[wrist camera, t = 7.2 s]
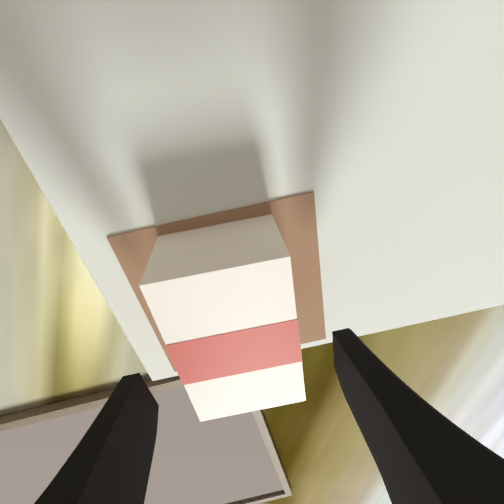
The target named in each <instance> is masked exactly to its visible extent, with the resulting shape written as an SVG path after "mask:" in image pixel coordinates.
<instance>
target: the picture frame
mask: <svg viewBox="0 0 504 504" xmlns="http://www.w3.org/2000/svg"><path fill="white" fill-rule="evenodd" d="M144 382H145V383H146V385H147V387H148V388H149V390H150V392H151V393H152V395H153V397H154V398H155V400H156V402H157V403H158V405H159V410H158V425H157V436H156V442H155V448H154V453H153V459H152V464H151V469H150V475H149V480H148V485H147V490H146V496H145V501H144V504H258V503H263V502H267V501H271V500H275V499H279V498H283V497H288V496H292V490H291V487H290V484H289V482H288V479H287V476H286V474H285V471H284V468H283V466H282V463H281V460H280V457H279V455H278V452H277V449H276V447H275V444H274V441H273V439H272V436H271V433H270V431H269V428H268V425H267V423H266V420H265V417H264V415H263V412H262V410H257V411H252V412H247V413H242V414H237V415H232V416H227V417H222V418H217V419H212V420H207V421H202V422H200V420H199V418H198V416H197V413H196V411H195V409H194V407H193V405H192V402H191V400H190V398H189V396H188V393H187V391H186V389H185V387H184V385H183V384H182V382H181V380H180V377H179V376H174V377H170V378H165V379H160V380H156V381H152V379H149V380H145V381H144ZM114 389H115V388H112V389H108V390H104V391H100V392H96V393H92V394H88V395H84V396H80V397H76V398H72V399H68V400H64V401H60V402H56V403H52V404H48V405H44V406H40V407H36V408H32V409H28V410H24V411H20V412H16V413H12V414H8V415H4V416H0V504H34V503H35V502H36V500H37V499H38V498H39V497H40V495H41V494H42V493H43V492H44V490H45V489H46V488H47V486H48V485H49V484H50V482H51V481H52V480H53V478H54V477H55V476H56V474H57V473H58V472H59V470H60V469H61V467H62V466H63V465H64V463H65V462H66V461H67V459H68V458H69V456H70V455H71V454H72V452H73V451H74V449H75V448H76V447H77V445H78V444H79V442H80V441H81V439H82V438H83V436H84V435H85V433H86V432H87V430H88V429H89V427H90V426H91V424H92V423H93V421H94V420H95V418H96V417H97V415H98V414H99V412H100V411H101V409H102V408H103V406H104V405H105V403H106V402H107V400H108V398H109V397H110V395H111V394H112V392H113V391H114Z"/></svg>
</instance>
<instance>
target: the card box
mask: <svg viewBox="0 0 504 504" xmlns="http://www.w3.org/2000/svg"><path fill="white" fill-rule="evenodd" d="M139 287H140V289H141V291H142V293H143V296H144V298H145V300H146V302H147V305H148V307H149V309H150V311H151V313H152V316H153V318H154V320H155V322H156V325H157V327H158V329H159V331H160V333H161V336H162V338H163V340H164V342H165V346H166V349H167V351H168V353H169V355H170V357H171V360H172V362H173V364H174V366H175V369H176V371H177V373H178V375H179V377H180V380H181V382H182V384H183V385H184V387H185V389H186V391H187V393H188V396H189V398H190V400H191V402H192V405H193V407H194V409H195V411H196V413H197V416H198V418H199V420H200V422H202V421H207V420H212V419H217V418H222V417H227V416H232V415H237V414H242V413H247V412H252V411H257V410H262V409H267V408H272V407H277V406H282V405H287V404H292V403H297V402H302V401H306V396H305V387H304V378H303V369H302V354H301V345H300V336H299V326H298V319H297V314H296V304H295V295H294V286H293V277H292V268H291V259H290V255H289V252H288V250H287V248H286V245H285V243H284V241H283V238H282V236H281V234H280V232H279V229H278V227H277V225H276V222H275V220H274V218H273V215H272V214H269V215H264V216H259V217H254V218H249V219H244V220H238V221H233V222H228V223H223V224H218V225H212V226H207V227H202V228H197V229H192V230H186V231H181V232H176V233H171V234H166V235H160V236H158V237H157V240H156V243H155V245H154V248H153V251H152V253H151V256H150V258H149V261H148V264H147V266H146V269H145V272H144V274H143V277H142V279H141V282H140V285H139Z"/></svg>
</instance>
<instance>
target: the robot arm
mask: <svg viewBox="0 0 504 504" xmlns="http://www.w3.org/2000/svg"><path fill="white" fill-rule="evenodd" d="M332 336H333V352H334V367H335V371H336V373H337V376H338V379H339V382H340V385H341V388H342V390H343V393H344V396H345V398H346V400H347V402H348V405H349V407H350V409H351V411H352V413H353V415H354V417H355V419H356V422H357V424H358V426H359V428H360V430H361V432H362V434H363V436H364V439H365V441H366V443H367V445H368V447H369V449H370V451H371V453H372V456H373V458H374V460H375V462H376V464H377V467H378V469H379V471H380V474H381V476H382V478H383V481H384V484H385V486H386V489H387V492H388V494H389V497H390V499H391V502H392V504H504V459H503V458H502V457H500V456H499V455H497V454H496V453H494V452H493V451H491V450H490V449H488V448H487V447H485V446H484V445H482V444H481V443H480V442H478V441H477V440H475V439H474V438H473V437H471V436H470V435H469V434H467V433H466V432H464V431H463V430H462V429H460V428H459V427H458V426H456V425H455V424H454V423H452V422H451V421H450V420H449V419H447V418H446V417H445V416H443V415H442V414H441V413H440V412H438V411H437V410H436V409H435V408H433V407H432V406H431V405H430V404H428V403H427V402H426V401H425V400H424V399H422V398H421V397H420V396H419V395H418V394H417V393H415V392H414V391H413V390H412V389H411V388H410V387H409V386H407V385H406V384H405V383H404V382H403V381H402V380H401V379H400V378H399V377H398V376H396V375H395V374H394V373H393V372H392V371H391V370H390V369H389V368H388V367H387V366H386V365H385V364H384V363H383V362H382V361H381V360H380V359H379V358H378V357H377V356H376V355H375V354H374V353H373V352H372V351H371V350H370V349H369V348H368V347H367V346H366V345H365V344H364V343H363V342H362V341H361V340H360V339H359V338H358V336H357V335H356V334H355V333H354V332H353V331H352V330H351V329H349V328H346V329H342V330H337V331H332ZM158 410H159V405H158V403H157V402H156V400H155V398H154V397H153V395H152V393H151V392H150V390H149V388H148V387H147V385H146V383H145V382H144V380H143V378H142V377H141V375H140V373H137V374H132V375H127V376H123V377H122V379H121V380H120V382H119V383H118V385H117V386H116V388H115V389H114V391H113V392H112V394H111V395H110V397H109V398H108V400H107V402H106V403H105V405H104V406H103V408H102V409H101V411H100V412H99V414H98V415H97V417H96V418H95V420H94V421H93V423H92V424H91V426H90V427H89V429H88V430H87V432H86V433H85V435H84V436H83V438H82V439H81V441H80V442H79V444H78V445H77V447H76V448H75V449H74V451H73V452H72V454H71V455H70V456H69V458H68V459H67V461H66V462H65V463H64V465H63V466H62V467H61V469H60V470H59V472H58V473H57V474H56V476H55V477H54V478H53V480H52V481H51V482H50V484H49V485H48V486H47V488H46V489H45V490H44V492H43V493H42V494H41V495H40V497H39V498H38V499H37V500H36V502H35V503H34V504H144V501H145V496H146V490H147V485H148V480H149V475H150V469H151V464H152V459H153V453H154V448H155V442H156V436H157V425H158Z"/></svg>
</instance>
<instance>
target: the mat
mask: <svg viewBox="0 0 504 504" xmlns="http://www.w3.org/2000/svg"><path fill="white" fill-rule="evenodd" d="M0 119H1V121H2V123H3V124H4V126H5V128H6V130H7V131H8V133H9V135H10V136H11V138H12V140H13V142H14V143H15V145H16V147H17V149H18V150H19V152H20V154H21V155H22V157H23V159H24V161H25V162H26V164H27V166H28V167H29V169H30V171H31V173H32V174H33V176H34V178H35V180H36V181H37V183H38V185H39V186H40V188H41V190H42V192H43V193H44V195H45V197H46V198H47V200H48V202H49V204H50V205H51V207H52V209H53V211H54V212H55V214H56V216H57V217H58V219H59V221H60V223H61V224H62V226H63V228H64V229H65V231H66V233H67V235H68V236H69V238H70V240H71V241H72V243H73V245H74V247H75V248H76V250H77V252H78V254H79V255H80V257H81V259H82V260H83V262H84V264H85V266H86V267H87V269H88V271H89V272H90V274H91V276H92V278H93V279H94V281H95V283H96V285H97V286H98V288H99V290H100V291H101V293H102V295H103V297H104V298H105V300H106V302H107V303H108V305H109V307H110V309H111V310H112V312H113V314H114V316H115V317H116V319H117V321H118V322H119V324H120V326H121V328H122V329H123V331H124V333H125V334H126V336H127V338H128V340H129V341H130V343H131V345H132V346H133V348H134V350H135V352H136V353H137V355H138V357H139V359H140V360H141V362H142V364H143V365H144V367H145V369H146V371H147V372H148V374H149V376H150V377H151V379H152V381H156V380H160V379H165V378H170V377H174V376H179V375H178V373H177V371H176V369H175V366H174V364H173V362H172V360H171V357H170V355H169V353H168V351H167V349H166V346H165V342H164V340H163V338H162V336H161V333H160V331H159V329H158V327H157V325H156V322H155V320H154V318H153V316H152V313H151V311H150V309H149V307H148V305H147V302H146V300H145V298H144V296H143V293H142V291H141V289H140V287H139V285H140V282H141V279H142V277H143V274H144V272H145V269H146V266H147V264H148V261H149V258H150V256H151V253H152V251H153V248H154V245H155V243H156V240H157V237H158V236H160V235H166V234H171V233H176V232H181V231H186V230H192V229H197V228H202V227H207V226H212V225H218V224H223V223H228V222H233V221H238V220H244V219H249V218H254V217H259V216H264V215H269V214H272V215H273V218H274V220H275V222H276V225H277V227H278V229H279V232H280V234H281V236H282V238H283V241H284V243H285V245H286V248H287V250H288V252H289V255H290V259H291V268H292V277H293V286H294V295H295V304H296V314H297V319H298V326H299V336H300V345H301V349H302V348H307V347H312V346H316V345H321V344H325V343H330V342H333V336H332V331H337V330H342V329H346V328H349V329H351V330H352V331H353V332H354V333H355V334H356V335H357V336H362V335H367V334H371V333H376V332H380V331H385V330H390V329H394V328H399V327H403V326H408V325H412V324H417V323H422V322H426V321H431V320H435V319H440V318H445V317H449V316H454V315H458V314H463V313H467V312H472V311H477V310H481V309H486V308H490V307H495V306H500V305H504V0H0Z"/></svg>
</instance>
